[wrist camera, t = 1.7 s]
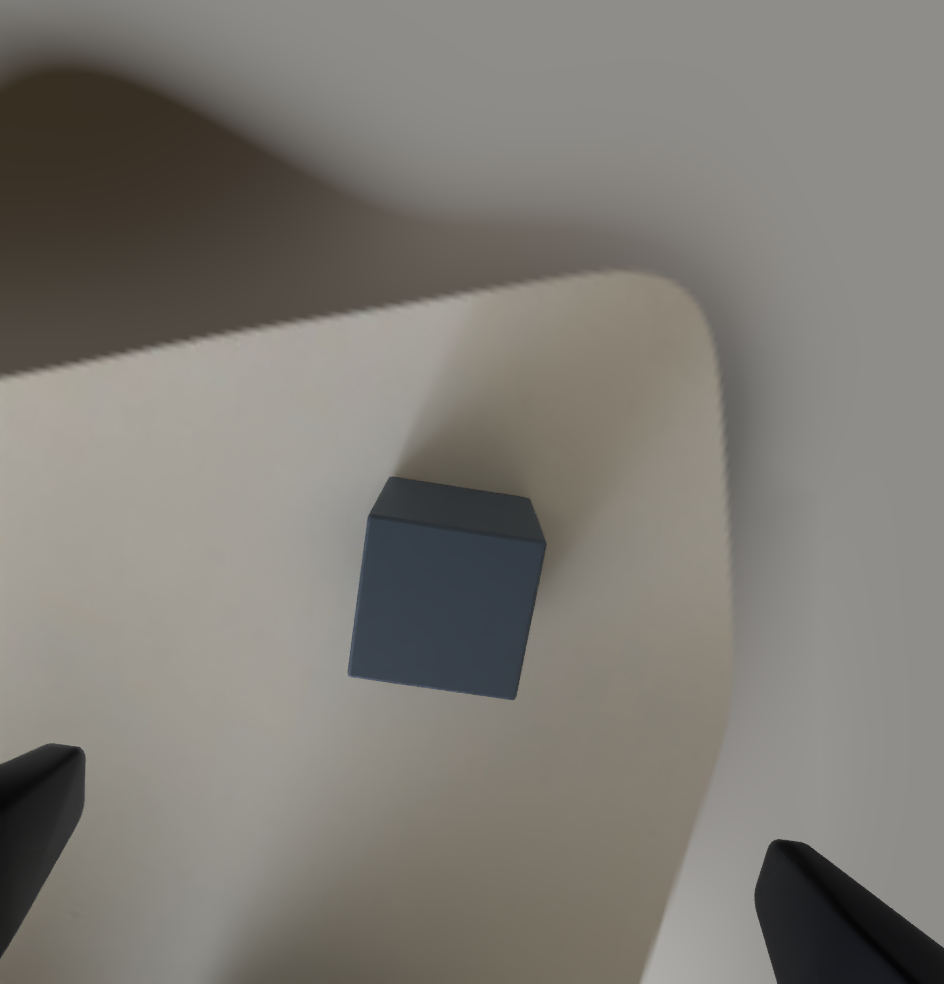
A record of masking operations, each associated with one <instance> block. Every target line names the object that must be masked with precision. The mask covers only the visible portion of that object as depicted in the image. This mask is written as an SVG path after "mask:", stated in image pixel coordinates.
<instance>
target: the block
mask: <svg viewBox="0 0 944 984" xmlns="http://www.w3.org/2000/svg"><path fill="white" fill-rule="evenodd" d="M545 550H546V541H545V538H544V535H543V533H542V530H541V527H540V525H539V522H538V519H537V517H536V514H535V511H534V509H533V506H532V504H531V501H530V499H529V498H525V497H519V496H512V495H506V494H499V493H493V492H487V491H480V490H474V489H468V488H461V487H455V486H448V485H442V484H436V483H429V482H423V481H416V480H410V479H404V478H397V477H389V479H388V480H387V482H386V484H385V486H384V488H383V490H382V492H381V493H380V495H379V497H378V499H377V501H376V503H375V505H374V506H373V508H372V510H371V512H370V514H369V516H368V519H367V527H366V535H365V542H364V550H363V558H362V565H361V573H360V581H359V588H358V596H357V604H356V611H355V619H354V627H353V634H352V642H351V650H350V657H349V665H348V676H350V677H354V678H361V679H368V680H375V681H382V682H389V683H396V684H403V685H410V686H417V687H424V688H431V689H438V690H445V691H452V692H459V693H466V694H473V695H480V696H487V697H495V698H502V699H509V700H514V699H515V698H516V696H517V691H518V685H519V680H520V675H521V670H522V665H523V660H524V655H525V650H526V645H527V640H528V635H529V630H530V625H531V620H532V615H533V610H534V605H535V600H536V595H537V590H538V585H539V580H540V575H541V570H542V565H543V560H544V555H545Z"/></svg>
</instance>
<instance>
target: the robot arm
mask: <svg viewBox="0 0 944 984" xmlns="http://www.w3.org/2000/svg"><path fill="white" fill-rule="evenodd" d="M85 764H86V758H85V753H84V750H83V749H81V748H80V747H78V746H70V745H63V744H55V743H50V744H46V745H44V746H41V747H39V748H37V749H34V750H32V751H30V752H28V753H25V754H23V755H21V756H19V757H16V758H14V759H12V760H10V761H7V762H5V763H3V764H1V765H0V958H1V957H2V955H3V954H4V952H5V951H6V949H7V948H8V946H9V944H10V942H11V941H12V939H13V937H14V936H15V934H16V932H17V931H18V929H19V927H20V926H21V924H22V922H23V920H24V918H25V917H26V915H27V913H28V911H29V910H30V908H31V906H32V904H33V902H34V901H35V899H36V897H37V895H38V894H39V892H40V890H41V888H42V886H43V885H44V883H45V881H46V879H47V878H48V876H49V874H50V872H51V870H52V869H53V867H54V865H55V863H56V861H57V860H58V858H59V856H60V854H61V853H62V851H63V849H64V847H65V845H66V844H67V842H68V840H69V838H70V837H71V835H72V833H73V831H74V829H75V828H76V826H77V824H78V822H79V820H80V817H81V815H82V811H83V807H84V800H85ZM755 907H756V912H757V915H758V919H759V922H760V926H761V929H762V933H763V936H764V939H765V942H766V946H767V949H768V953H769V956H770V960H771V963H772V967H773V970H774V974H775V977H776V981H777V984H944V948H943V947H942V946H940V945H939V944H938V943H936V942H935V941H934V940H933V939H931V938H930V937H928V936H927V935H926V934H925V933H923V932H922V931H921V930H919V929H918V928H917V927H915V926H914V925H913V924H911V923H910V922H909V921H907V920H906V919H905V918H904V917H902V916H901V915H900V914H898V913H897V912H895V911H894V910H893V909H892V908H890V907H889V906H888V905H886V904H885V903H884V902H882V901H881V900H880V899H878V898H877V897H876V896H875V895H873V894H872V893H871V892H869V891H868V890H867V889H865V888H864V887H863V886H861V885H860V884H859V883H857V882H856V881H855V880H854V879H852V878H851V877H849V876H848V875H847V874H846V873H844V872H843V871H842V870H840V869H839V868H838V867H836V866H835V865H834V864H832V863H831V862H830V861H829V860H827V859H826V858H825V857H823V856H822V855H820V854H819V853H818V852H817V851H815V850H814V849H813V848H811V847H810V846H809V845H807V844H805V843H802V842H796V841H789V840H781V839H777V840H774V841H772V842H771V844H770V845H769V847H768V849H767V852H766V856H765V859H764V862H763V865H762V868H761V871H760V875H759V878H758V881H757V884H756V888H755Z"/></svg>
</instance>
